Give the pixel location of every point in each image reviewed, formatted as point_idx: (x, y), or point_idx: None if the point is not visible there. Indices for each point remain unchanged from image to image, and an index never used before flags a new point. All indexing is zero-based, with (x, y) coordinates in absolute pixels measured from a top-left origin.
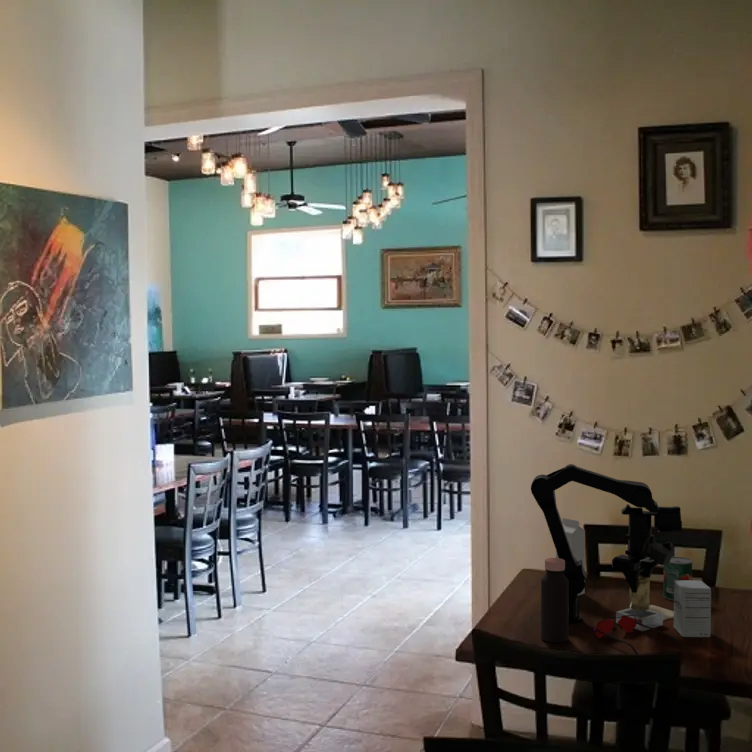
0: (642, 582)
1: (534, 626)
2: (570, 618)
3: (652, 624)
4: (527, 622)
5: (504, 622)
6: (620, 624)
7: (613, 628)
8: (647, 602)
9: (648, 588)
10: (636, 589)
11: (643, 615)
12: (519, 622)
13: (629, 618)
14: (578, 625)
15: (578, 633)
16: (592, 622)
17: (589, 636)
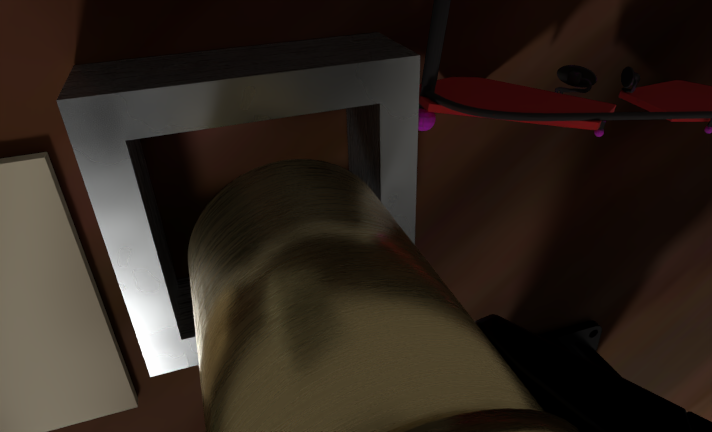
0: (528, 412)
1: (689, 338)
2: (574, 351)
3: (243, 55)
4: (661, 382)
5: (705, 399)
6: (580, 98)
7: (627, 89)
8: (298, 201)
9: (330, 330)
10: (525, 336)
11: (164, 253)
12: (677, 388)
13: (517, 111)
14: (565, 294)
15: (671, 196)
16: (476, 310)
17: (683, 132)
